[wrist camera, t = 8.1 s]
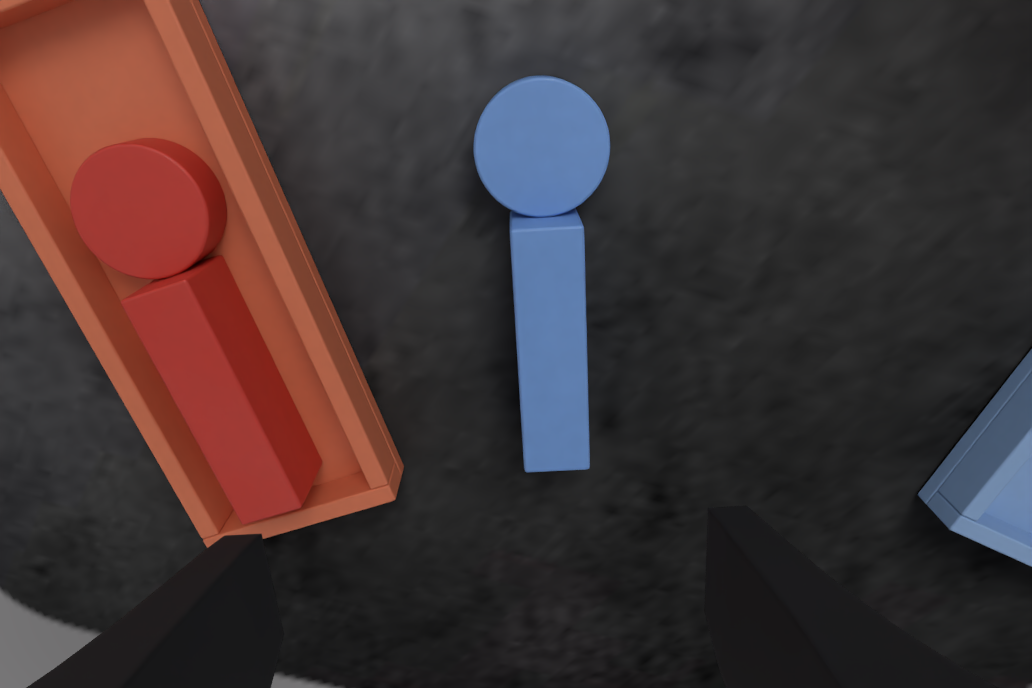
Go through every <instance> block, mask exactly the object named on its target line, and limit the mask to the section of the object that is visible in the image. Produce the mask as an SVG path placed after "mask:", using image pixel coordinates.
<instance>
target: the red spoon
mask: <svg viewBox="0 0 1032 688" xmlns="http://www.w3.org/2000/svg"><path fill="white" fill-rule="evenodd" d="M70 209H71V214H72V218H73V221H74V224H75V227H76V229H77V231H78V233H79V235H80V237H81V239H82V240H83V242H84V243H85V245H86V246H87V247H88V248H89V250H90V251H91V252H92V253H93V254H94V255H95V256H96V257H97V258H98V259H100V260H101V261H102V262H103V263H105V264H106V265H108V266H109V267H111V268H112V269H114V270H116V271H118V272H120V273H123V274H125V275H128V276H132V277H136V278H140V279H155V280H153V281H152V282H150V283H148V284H147V285H145V286H144V287H142V288H140V289H139V290H137V291H136V292H134V293H132V294H131V295H129V296H128V297H126V298H124V299H123V300H122V301H121V305H122V307H123V309H124V311H125V312H126V314H127V316H128V318H129V320H130V322H131V323H132V325H133V327H134V329H135V331H136V332H137V334H138V336H139V338H140V340H141V342H142V343H143V345H144V347H145V349H146V351H147V352H148V354H149V356H150V358H151V360H152V362H153V363H154V365H155V367H156V369H157V371H158V373H159V374H160V376H161V378H162V380H163V382H164V383H165V385H166V387H167V389H168V391H169V393H170V394H171V396H172V398H173V400H174V402H175V403H176V405H177V407H178V409H179V411H180V413H181V414H182V416H183V418H184V420H185V422H186V424H187V425H188V427H189V429H190V431H191V433H192V434H193V436H194V438H195V440H196V442H197V444H198V445H199V447H200V449H201V451H202V453H203V454H204V456H205V458H206V460H207V462H208V464H209V465H210V467H211V469H212V471H213V473H214V475H215V476H216V478H217V480H218V482H219V484H220V485H221V487H222V489H223V491H224V493H225V495H226V496H227V498H228V500H229V502H230V504H231V505H232V507H233V509H234V511H235V513H236V515H237V516H238V518H239V520H240V522H241V524H243V525H245V524H249V523H252V522H255V521H259V520H262V519H266V518H269V517H272V516H276V515H279V514H283V513H286V512H289V511H293V510H296V509H299V508H301V507H302V506H303V504H304V501H305V499H306V497H307V495H308V493H309V491H310V489H311V486H312V484H313V482H314V480H315V478H316V476H317V474H318V471H319V469H320V467H321V465H322V459H321V457H320V455H319V453H318V451H317V449H316V447H315V445H314V443H313V441H312V439H311V437H310V435H309V433H308V431H307V428H306V426H305V424H304V422H303V420H302V418H301V416H300V414H299V412H298V410H297V408H296V406H295V404H294V402H293V400H292V398H291V396H290V393H289V391H288V389H287V387H286V385H285V383H284V381H283V379H282V377H281V375H280V373H279V371H278V369H277V367H276V365H275V363H274V360H273V358H272V356H271V354H270V352H269V350H268V348H267V346H266V344H265V342H264V340H263V338H262V336H261V334H260V332H259V330H258V327H257V325H256V323H255V321H254V319H253V317H252V315H251V313H250V311H249V309H248V307H247V305H246V303H245V301H244V299H243V297H242V294H241V292H240V290H239V288H238V286H237V284H236V282H235V280H234V278H233V276H232V274H231V272H230V270H229V268H228V266H227V264H226V262H225V259H224V257H223V256H222V255H217V256H214V257H212V258H209V259H206V260H203V261H200V260H202V259H203V258H205V257H206V256H207V255H209V254H210V253H211V252H212V251H213V250H214V249H215V247H216V246H217V245H218V243H219V241H220V240H221V238H222V235H223V233H224V230H225V226H226V219H227V207H226V200H225V197H224V193H223V190H222V188H221V185H220V183H219V181H218V179H217V177H216V176H215V174H214V173H213V171H212V170H211V169H210V167H209V166H208V165H207V164H206V163H205V162H204V161H203V160H202V159H201V158H200V157H199V156H198V155H196V154H195V153H193V152H192V151H191V150H189V149H187V148H186V147H184V146H182V145H180V144H177V143H175V142H172V141H168V140H165V139H159V138H142V139H135V140H131V141H126V142H122V143H117V144H113V145H110V146H106V147H104V148H102V149H99V150H98V151H96V152H94V153H93V154H91V155H90V156H89V157H88V158H87V159H86V160H85V161H84V162H83V163H82V165H81V166H80V167H79V169H78V171H77V172H76V174H75V177H74V179H73V182H72V186H71V191H70ZM199 261H200V262H199Z"/></svg>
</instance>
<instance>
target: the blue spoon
mask: <svg viewBox="0 0 1032 688" xmlns="http://www.w3.org/2000/svg"><path fill="white" fill-rule="evenodd" d="M473 148H474V160H475V165H476V168H477V172H478V174H479V177H480V179H481V181H482V183H483V184H484V186H485V188H486V189H487V190H488V192H489V193H490V194H491V195H492V196H493V197H494V198H495V199H496V200H497V201H498V202H499V203H501V204H502V205H503V206H505V207H506V208H508V209H510V210H512V211H511V212H510V247H511V263H512V280H513V296H514V313H515V329H516V345H517V362H518V378H519V395H520V411H521V427H522V444H523V460H524V470H525V472H545V471H564V470H583V469H589V467H590V448H589V406H588V365H587V324H586V283H585V242H584V227H583V224H582V222H581V219H580V217H579V215H578V212H577V210H576V207H577V206H579V205H580V204H582V203H583V202H584V201H585V200H586V199H588V198H589V197H590V196H591V195H592V193H593V192H594V191H595V190H596V188H597V187H598V185H599V184H600V182H601V181H602V178H603V176H604V174H605V172H606V169H607V166H608V162H609V156H610V136H609V131H608V126H607V123H606V121H605V118H604V116H603V114H602V112H601V110H600V108H599V107H598V105H597V104H596V103H595V101H594V100H593V99H592V98H591V97H590V96H589V95H588V94H587V93H586V92H584V91H583V90H582V89H581V88H579V87H577V86H576V85H574V84H572V83H570V82H568V81H565V80H563V79H560V78H557V77H552V76H540V75H537V76H529V77H525V78H522V79H519V80H516V81H514V82H512V83H510V84H508V85H507V86H505V87H504V88H502V89H501V90H500V91H499V92H497V93H496V95H495V96H494V97H493V98H492V99H491V100H490V101H489V103H488V104H487V106H486V107H485V109H484V111H483V113H482V115H481V117H480V119H479V121H478V124H477V127H476V131H475V135H474V144H473Z"/></svg>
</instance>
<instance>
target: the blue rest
mask: <svg viewBox="0 0 1032 688" xmlns="http://www.w3.org/2000/svg"><path fill="white" fill-rule="evenodd" d="M918 496H919V497H920V498H921V499H922V500H923V501H924V503H925V504H927V506H928V507H929V508H930V509H931V510H932V511H933V512H934V513H935V514H936V516H937V517H938V518H939V519H940V520H941V521H942V522H943V523H944V524H945V525H946V526H947V527H948V528H949V530H951V531H953V532H956V533H958V534H960V535H962V536H964V537H967V538H969V539H971V540H973V541H976V542H978V543H980V544H982V545H984V546H987V547H989V548H991V549H993V550H996V551H998V552H1000V553H1002V554H1004V555H1007V556H1009V557H1011V558H1013V559H1016V560H1018V561H1020V562H1022V563H1025V564H1027V565H1029V566H1031V567H1032V349H1031V350H1030V351H1029V352H1028V354H1027V355H1026V356H1025V358H1024V359H1023V360H1022V361H1021V363H1020V364H1019V365H1018V367H1017V368H1016V369H1015V370H1014V372H1013V373H1012V374H1011V375H1010V377H1009V378H1008V379H1007V381H1006V382H1005V383H1004V384H1003V386H1002V387H1001V388H1000V389H999V391H998V392H997V393H996V395H995V396H994V397H993V398H992V400H991V401H990V402H989V404H988V405H987V406H986V407H985V409H984V410H983V411H982V412H981V414H980V415H979V416H978V418H977V419H976V420H975V421H974V423H973V424H972V425H971V426H970V428H969V429H968V430H967V432H966V433H965V434H964V435H963V437H962V438H961V439H960V441H959V442H958V443H957V444H956V446H955V447H954V448H953V449H952V451H951V452H950V453H949V455H948V456H947V457H946V458H945V460H944V461H943V462H942V464H941V465H940V466H939V467H938V469H937V470H936V471H935V472H934V474H933V475H932V476H931V478H930V479H929V480H928V481H927V483H926V484H925V485H924V486H923V488H922V489H921V490H920V492H919V493H918Z"/></svg>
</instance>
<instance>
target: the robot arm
mask: <svg viewBox="0 0 1032 688" xmlns="http://www.w3.org/2000/svg"><path fill="white" fill-rule="evenodd" d="M705 615H706V619H707V623H708V627H709V631H710V635H711V639H712V643H713V647H714V651H715V654H716V658H717V662H718V666H719V669H720V672H721V675H722V678H723V680H724V683H725V686H726V688H998V687H996V686H994V685H992V684H990V683H989V682H987V681H985V680H983V679H981V678H980V677H978V676H976V675H974V674H973V673H971V672H969V671H967V670H966V669H964V668H962V667H961V666H959V665H957V664H956V663H954V662H952V661H951V660H949V659H948V658H946V657H944V656H943V655H941V654H939V653H938V652H936V651H935V650H933V649H931V648H930V647H928V646H927V645H925V644H923V643H922V642H920V641H918V640H917V639H915V638H914V637H912V636H911V635H909V634H908V633H906V632H905V631H903V630H902V629H900V628H899V627H897V626H896V625H894V624H893V623H892V622H890V621H889V620H887V619H886V618H885V617H883V616H882V615H880V614H879V613H878V612H876V611H875V610H873V609H872V608H871V607H869V606H868V605H867V604H865V603H864V602H862V601H861V600H860V599H858V598H857V597H856V596H854V595H853V594H852V593H850V592H849V591H848V590H846V589H845V588H844V587H843V586H841V585H840V584H839V583H837V582H836V581H835V580H834V579H832V578H831V577H830V576H829V575H827V574H826V573H825V572H824V571H822V570H821V569H820V568H819V567H818V566H816V565H815V564H814V563H813V562H811V561H810V560H809V559H808V558H807V557H805V556H804V555H803V554H802V553H801V552H800V551H798V550H797V549H796V548H795V547H794V546H793V545H791V544H790V543H789V542H788V541H787V540H786V539H784V538H783V537H782V536H781V535H780V534H779V533H777V532H776V531H775V530H774V529H773V528H772V527H771V526H769V525H768V524H767V523H766V522H765V521H764V520H763V519H761V518H760V517H759V516H758V515H757V514H756V513H755V512H753V511H752V510H751V509H750V508H749V507H747V506H734V507H717V508H708V527H707V556H706V584H705ZM283 636H284V632H283V628H282V623H281V619H280V614H279V610H278V605H277V601H276V596H275V592H274V587H273V583H272V578H271V574H270V569H269V565H268V560H267V556H266V551H265V547H264V542H263V538H262V533H261V534H244V535H226V536H223V537H222V538H220V539H219V540H218V541H216V542H215V543H214V544H212V545H211V546H210V547H208V548H207V549H206V550H205V551H203V552H202V553H201V554H200V555H198V556H197V557H196V558H195V559H193V560H192V561H191V562H190V563H189V564H187V565H186V566H185V567H184V568H182V569H181V570H180V571H179V572H178V573H176V574H175V575H174V576H173V577H172V578H170V579H169V580H168V581H167V582H166V583H164V584H163V585H162V586H161V587H159V588H158V589H157V590H156V591H154V592H153V593H152V594H151V595H150V596H148V597H147V598H146V599H145V600H143V601H142V602H141V603H140V604H138V605H137V606H136V607H135V608H134V609H132V610H131V611H130V612H129V613H127V614H126V615H125V616H124V617H122V618H121V619H120V620H119V621H117V622H116V623H115V624H113V625H112V626H111V627H109V628H108V629H107V630H105V631H104V632H103V633H101V634H100V635H99V636H97V637H96V638H95V639H93V640H92V641H91V642H89V643H88V644H87V645H85V646H84V647H83V648H82V649H80V650H79V651H77V652H76V653H75V654H73V655H72V656H71V657H69V658H68V659H67V660H66V661H64V662H63V663H61V664H60V665H59V666H57V667H56V668H55V669H53V670H51V671H50V672H49V673H47V674H46V675H44V676H43V677H41V678H40V679H39V680H37V681H35V682H34V683H33V684H31V685H30V686H28V687H27V688H271V684H272V680H273V677H274V673H275V669H276V665H277V661H278V657H279V653H280V648H281V644H282V640H283Z"/></svg>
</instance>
